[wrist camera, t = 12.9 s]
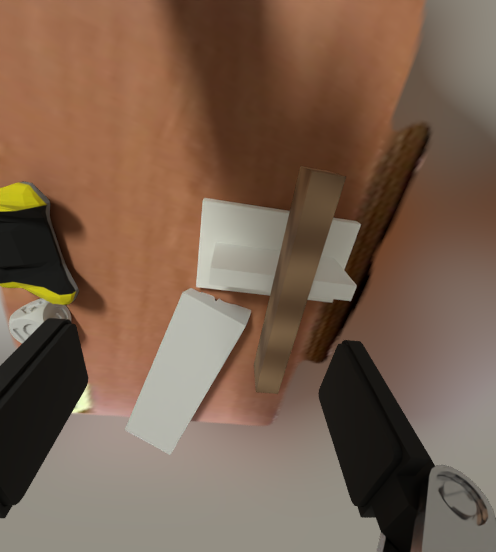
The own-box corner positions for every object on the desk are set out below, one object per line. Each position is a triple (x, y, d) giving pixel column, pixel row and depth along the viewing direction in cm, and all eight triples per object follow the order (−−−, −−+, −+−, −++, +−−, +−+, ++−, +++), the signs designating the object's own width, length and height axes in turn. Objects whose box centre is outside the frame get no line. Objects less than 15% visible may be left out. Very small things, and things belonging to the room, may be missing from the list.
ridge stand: (204, 197, 32) (193, 217, 24) (356, 221, 34) (392, 245, 26) (197, 281, 38) (187, 320, 30) (329, 297, 40) (352, 336, 32)
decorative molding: (139, 409, 55) (181, 432, 54) (124, 430, 50) (170, 454, 50) (196, 279, 41) (252, 309, 41) (182, 292, 36) (245, 326, 36)
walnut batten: (300, 165, 22) (312, 171, 19) (328, 170, 23) (346, 176, 19) (253, 365, 33) (255, 392, 30) (273, 366, 34) (277, 393, 30)
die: (27, 301, 38) (-1, 323, 34) (58, 293, 38) (34, 314, 33) (48, 327, 40) (25, 350, 36) (77, 320, 40) (57, 342, 36)
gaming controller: (63, 178, 31) (-26, 177, 30) (31, 186, 26) (-76, 184, 25) (95, 288, 38) (24, 288, 37) (75, 310, 33) (-8, 311, 32)
